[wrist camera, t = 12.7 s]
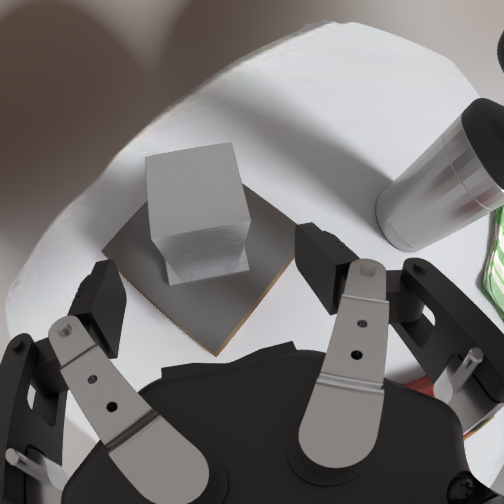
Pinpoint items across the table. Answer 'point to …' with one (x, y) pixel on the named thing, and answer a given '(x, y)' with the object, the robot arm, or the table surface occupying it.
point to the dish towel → (496, 265)
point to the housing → (198, 213)
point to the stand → (215, 290)
